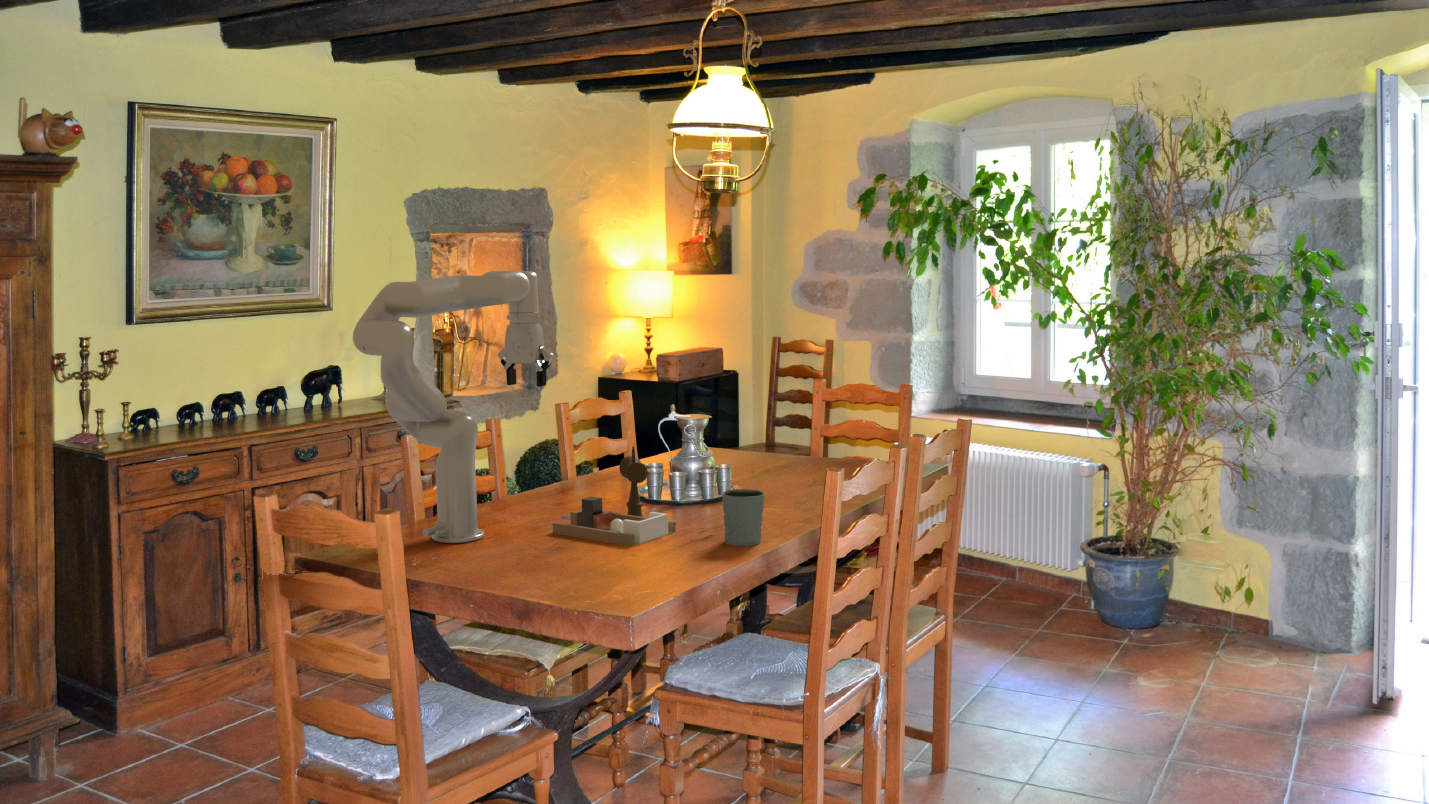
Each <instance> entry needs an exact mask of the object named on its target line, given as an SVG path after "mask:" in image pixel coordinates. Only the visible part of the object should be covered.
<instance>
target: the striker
mask: <svg viewBox="0 0 1429 804" xmlns="http://www.w3.org/2000/svg"><path fill="white" fill-rule="evenodd" d="M581 509H582V518H580V517H579V522H581V523H582V527H589V528H595V529H601V530H606V529H609V528H610V524H611V522H612V521H613V515H612V513H613V511H611V510H610V511H605V513H603V511H604V510H603V497H598V496H597V497H596V496H589V497H588V496H587V497H585V498H581ZM560 519H561V520H563V521H570V522H571V518H570V515H565V514H562V515H561V517H560Z"/></svg>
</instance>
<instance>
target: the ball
mask: <svg viewBox="0 0 1429 804" xmlns="http://www.w3.org/2000/svg"><path fill="white" fill-rule="evenodd" d="M610 528H611V530H612V531H614V532H622V531H623V521H622V520H621V519H614V520H613V521H612V522H611V524H610Z"/></svg>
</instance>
